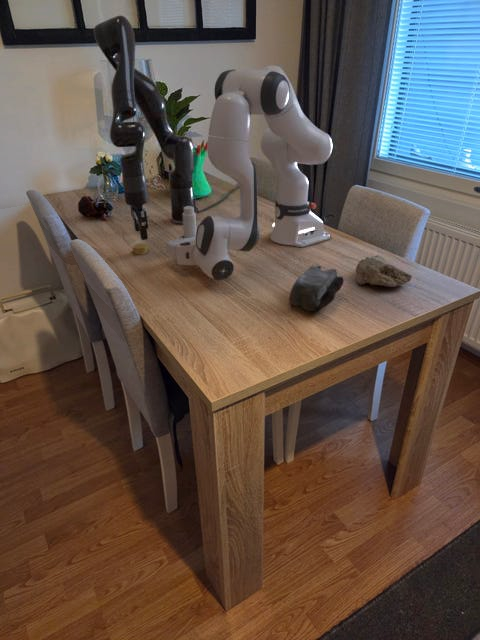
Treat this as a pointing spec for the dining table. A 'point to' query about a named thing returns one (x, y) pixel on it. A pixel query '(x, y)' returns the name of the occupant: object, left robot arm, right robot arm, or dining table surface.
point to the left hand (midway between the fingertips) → (141, 235)
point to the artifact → (380, 273)
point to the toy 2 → (199, 172)
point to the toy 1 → (95, 207)
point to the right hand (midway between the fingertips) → (189, 236)
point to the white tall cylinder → (189, 222)
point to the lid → (140, 248)
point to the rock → (315, 288)
